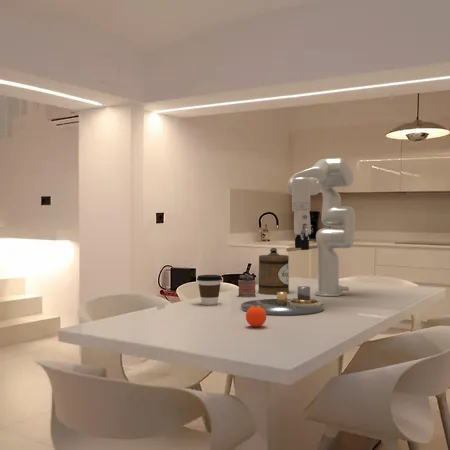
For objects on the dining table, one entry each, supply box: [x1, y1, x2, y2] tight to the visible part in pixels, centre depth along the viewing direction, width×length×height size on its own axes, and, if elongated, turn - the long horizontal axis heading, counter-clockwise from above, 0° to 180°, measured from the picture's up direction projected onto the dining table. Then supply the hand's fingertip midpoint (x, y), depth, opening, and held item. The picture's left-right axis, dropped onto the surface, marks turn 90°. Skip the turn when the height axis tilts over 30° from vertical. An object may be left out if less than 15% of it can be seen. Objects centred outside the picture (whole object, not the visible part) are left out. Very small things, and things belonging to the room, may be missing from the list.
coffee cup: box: [196, 274, 223, 306], centre depth 232 cm, size 11×11×12 cm
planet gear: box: [291, 285, 316, 304], centre depth 220 cm, size 9×9×7 cm
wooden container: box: [258, 247, 290, 296], centre depth 268 cm, size 15×15×22 cm
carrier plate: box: [240, 292, 325, 317], centre depth 219 cm, size 33×33×6 cm
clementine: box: [245, 306, 267, 328], centre depth 183 cm, size 8×7×7 cm
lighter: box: [237, 274, 257, 298], centre depth 254 cm, size 8×3×10 cm, turn 84°
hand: (301, 248), depth 225 cm, fingers open, 9 cm apart
